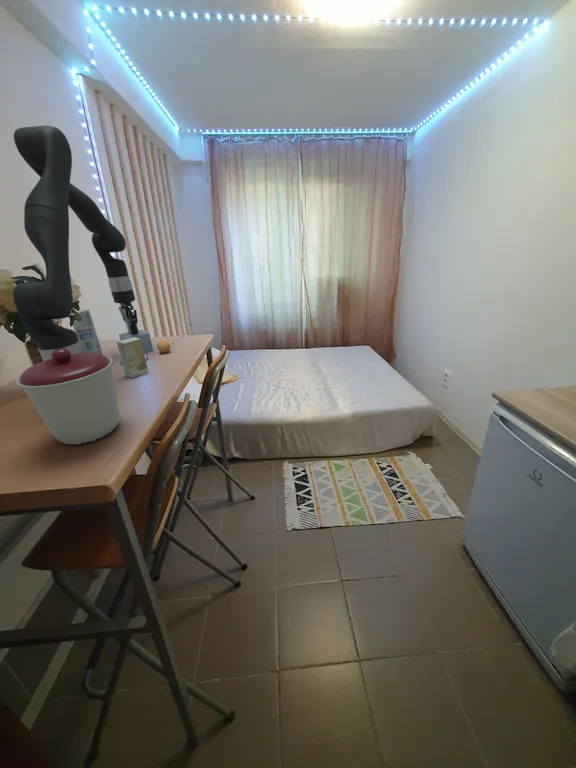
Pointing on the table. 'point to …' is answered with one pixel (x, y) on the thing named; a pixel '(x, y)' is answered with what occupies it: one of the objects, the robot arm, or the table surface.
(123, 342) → the skincare box
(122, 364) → the rest mark
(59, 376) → the canister
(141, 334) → the blue stepped block
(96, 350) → the tall pale blue carton
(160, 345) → the ball
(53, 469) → the table surface
